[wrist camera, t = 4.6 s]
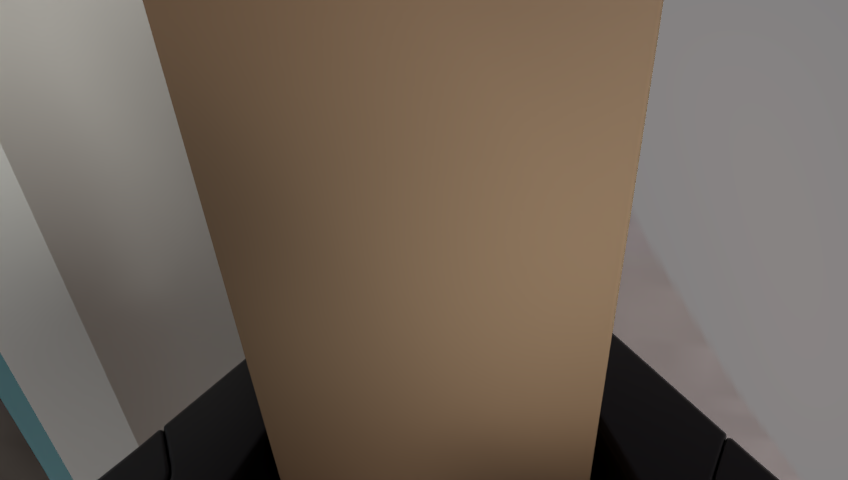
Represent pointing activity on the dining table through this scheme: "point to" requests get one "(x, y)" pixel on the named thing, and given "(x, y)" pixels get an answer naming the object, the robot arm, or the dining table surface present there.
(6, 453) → the dining table surface
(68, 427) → the tile
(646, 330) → the dining table surface
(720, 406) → the dining table surface
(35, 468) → the dining table surface
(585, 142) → the tan wooden block
